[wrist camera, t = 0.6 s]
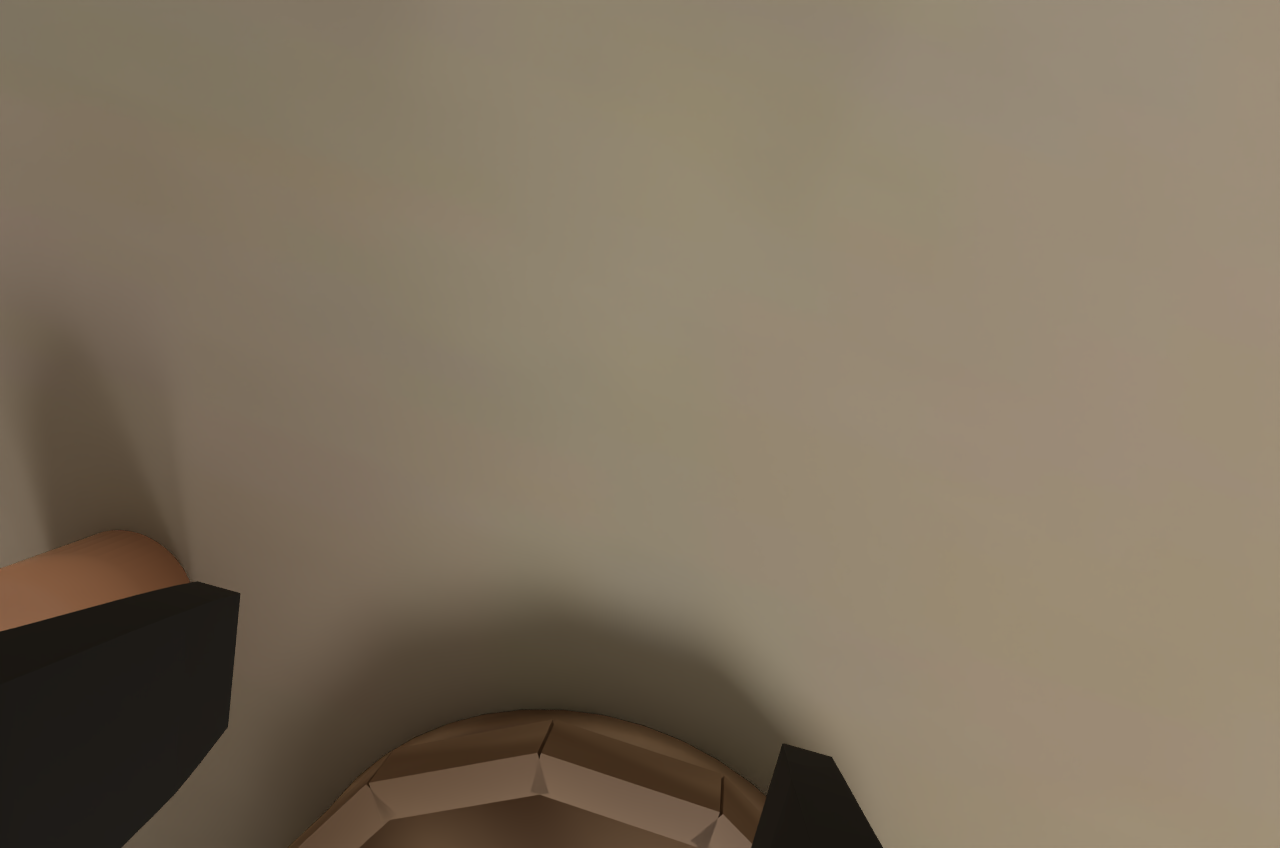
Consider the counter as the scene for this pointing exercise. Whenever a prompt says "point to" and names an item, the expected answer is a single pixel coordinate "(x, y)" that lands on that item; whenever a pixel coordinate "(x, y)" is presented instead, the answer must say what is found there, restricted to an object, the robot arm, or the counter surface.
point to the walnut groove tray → (542, 790)
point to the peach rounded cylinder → (85, 576)
